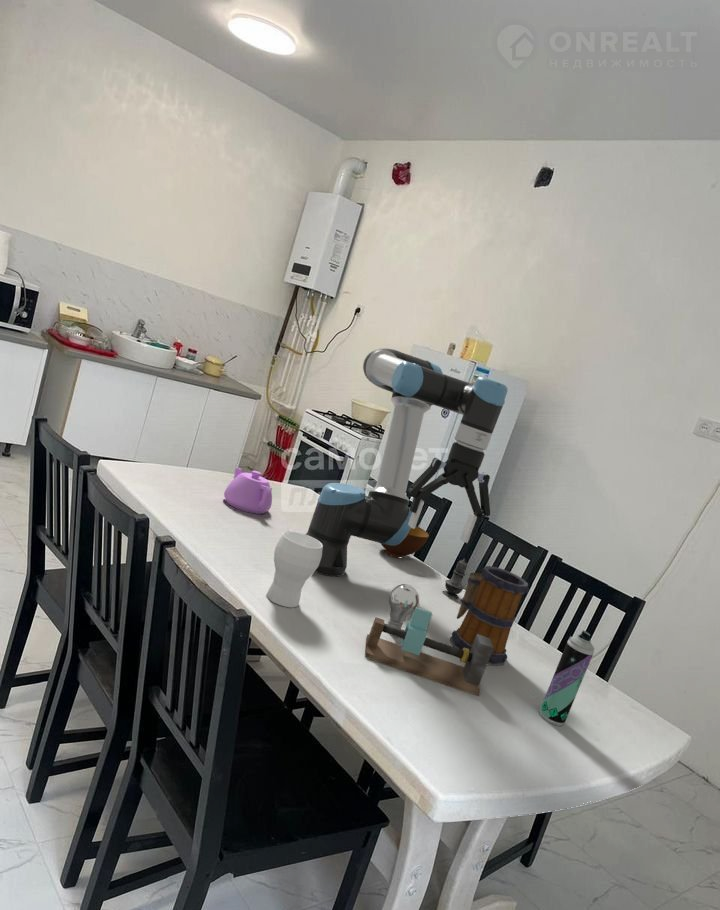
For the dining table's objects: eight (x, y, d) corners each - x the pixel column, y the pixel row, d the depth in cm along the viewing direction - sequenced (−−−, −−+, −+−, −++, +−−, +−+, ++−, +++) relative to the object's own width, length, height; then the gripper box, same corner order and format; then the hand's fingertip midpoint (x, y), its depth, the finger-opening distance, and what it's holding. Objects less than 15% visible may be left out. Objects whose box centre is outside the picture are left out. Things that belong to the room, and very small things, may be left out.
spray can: (535, 707, 148) (569, 623, 145) (558, 714, 148) (592, 630, 146) (543, 722, 142) (579, 634, 139) (568, 728, 143) (604, 641, 140)
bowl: (360, 547, 223) (370, 518, 222) (378, 540, 240) (388, 513, 238) (409, 569, 217) (420, 540, 216) (424, 560, 234) (434, 533, 232)
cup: (312, 605, 162) (332, 546, 159) (290, 614, 152) (311, 552, 150) (275, 585, 165) (294, 528, 163) (251, 594, 156) (271, 532, 154)
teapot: (282, 521, 222) (294, 486, 220) (241, 517, 212) (253, 480, 210) (248, 496, 238) (259, 463, 236) (209, 491, 227) (220, 457, 226)
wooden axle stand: (364, 657, 143) (380, 613, 142) (366, 637, 153) (380, 597, 152) (478, 695, 144) (495, 652, 142) (472, 674, 154) (488, 633, 152)
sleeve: (401, 649, 146) (415, 610, 145) (400, 641, 150) (414, 603, 149) (419, 655, 146) (433, 617, 145) (418, 647, 150) (432, 609, 149)
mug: (429, 622, 177) (456, 551, 174) (474, 629, 183) (501, 560, 180) (469, 663, 159) (499, 584, 157) (517, 669, 166) (547, 593, 163)
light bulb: (409, 634, 164) (426, 588, 163) (402, 642, 158) (419, 595, 156) (382, 621, 166) (399, 576, 164) (374, 630, 160) (391, 582, 158)
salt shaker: (459, 601, 202) (473, 564, 201) (440, 594, 203) (454, 556, 201) (460, 596, 208) (474, 559, 206) (442, 588, 209) (455, 552, 207)
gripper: (425, 433, 148) (393, 525, 151) (524, 465, 155) (491, 552, 158) (414, 427, 155) (383, 515, 158) (509, 457, 162) (478, 541, 165)
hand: (437, 534), depth 158 cm, fingers open, 13 cm apart
